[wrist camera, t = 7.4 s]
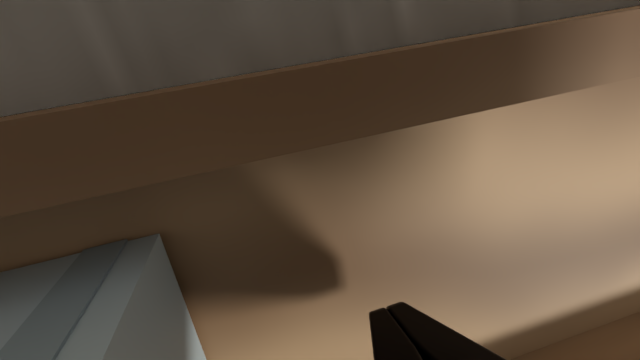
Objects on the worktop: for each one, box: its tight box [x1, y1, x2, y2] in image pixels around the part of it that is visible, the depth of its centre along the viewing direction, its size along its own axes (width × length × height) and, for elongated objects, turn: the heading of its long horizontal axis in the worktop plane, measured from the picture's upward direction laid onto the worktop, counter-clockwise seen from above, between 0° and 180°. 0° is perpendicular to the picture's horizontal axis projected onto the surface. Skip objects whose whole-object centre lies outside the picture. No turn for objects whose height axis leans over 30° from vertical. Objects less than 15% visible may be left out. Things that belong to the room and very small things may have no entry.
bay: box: [0, 5, 640, 360], centre depth 7 cm, size 11×23×5 cm, turn 99°
